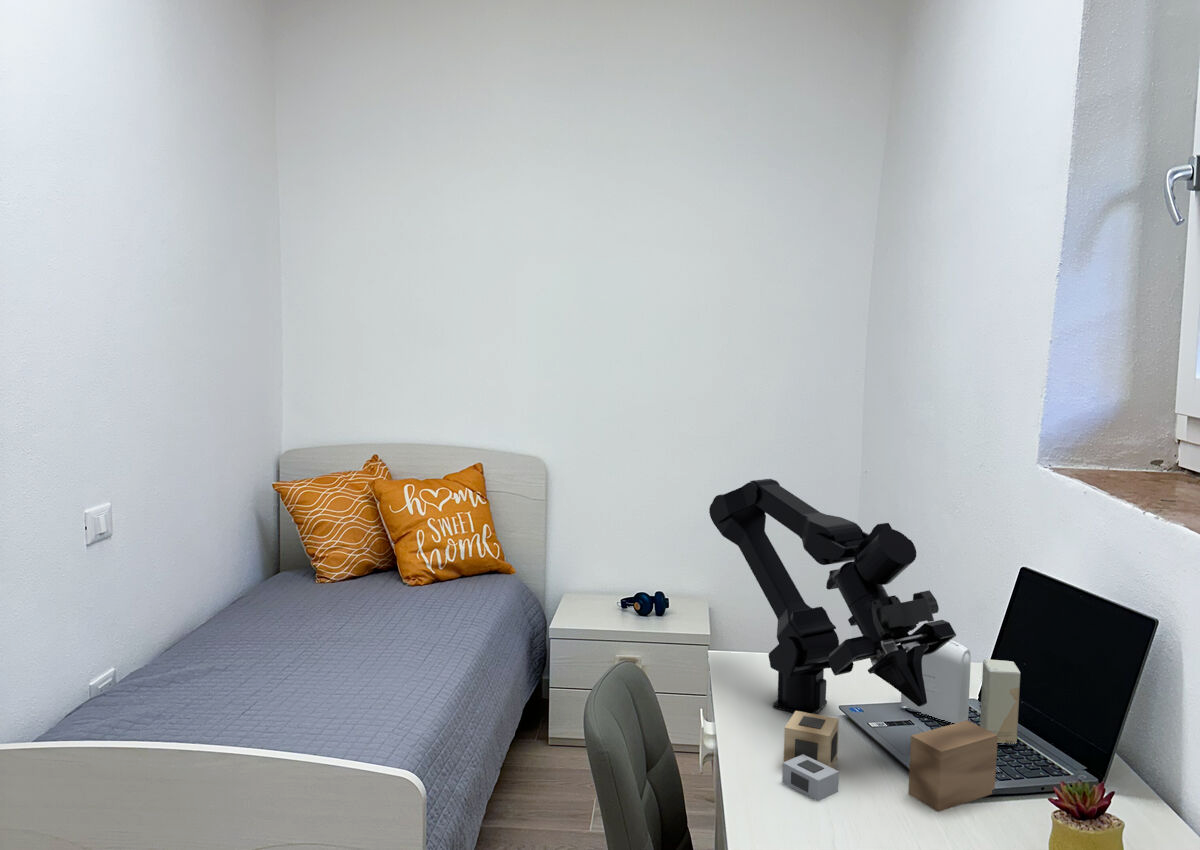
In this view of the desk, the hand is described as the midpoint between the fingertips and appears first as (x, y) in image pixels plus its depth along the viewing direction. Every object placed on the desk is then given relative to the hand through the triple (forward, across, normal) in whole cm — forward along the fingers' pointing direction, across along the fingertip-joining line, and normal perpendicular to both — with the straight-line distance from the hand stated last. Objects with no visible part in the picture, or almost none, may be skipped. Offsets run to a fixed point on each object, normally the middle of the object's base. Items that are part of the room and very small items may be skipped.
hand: (923, 705), depth 130 cm
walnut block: (+11, 0, +3) cm, 11 cm away
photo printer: (-2, +16, +16) cm, 23 cm away
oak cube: (+1, -11, +14) cm, 17 cm away
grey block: (+4, -15, +10) cm, 19 cm away
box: (+5, +18, +9) cm, 21 cm away
